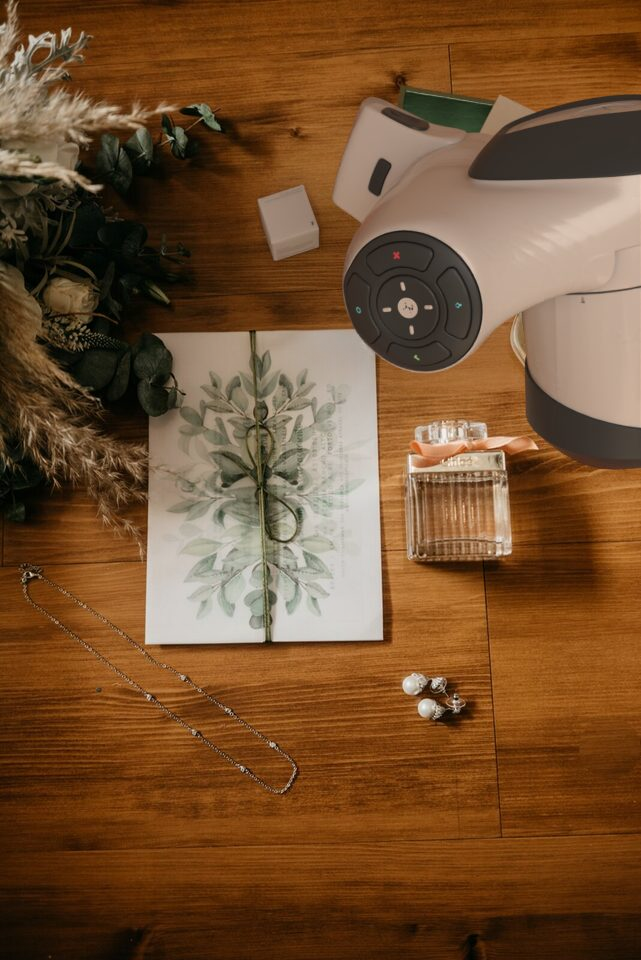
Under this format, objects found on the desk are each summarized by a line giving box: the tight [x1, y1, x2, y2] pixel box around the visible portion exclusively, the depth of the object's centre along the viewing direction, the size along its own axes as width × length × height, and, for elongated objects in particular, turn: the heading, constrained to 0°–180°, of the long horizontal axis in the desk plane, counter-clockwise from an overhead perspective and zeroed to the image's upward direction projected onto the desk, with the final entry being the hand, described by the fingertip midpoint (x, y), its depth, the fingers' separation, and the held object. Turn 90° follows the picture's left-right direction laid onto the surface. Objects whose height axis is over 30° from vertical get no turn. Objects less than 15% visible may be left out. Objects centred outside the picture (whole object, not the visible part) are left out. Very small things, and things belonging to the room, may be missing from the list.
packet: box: [479, 94, 536, 136], centre depth 56 cm, size 4×6×9 cm
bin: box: [396, 84, 496, 133], centre depth 79 cm, size 12×12×11 cm
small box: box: [257, 184, 320, 262], centre depth 82 cm, size 6×6×5 cm
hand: (496, 164), depth 56 cm, fingers open, 6 cm apart
